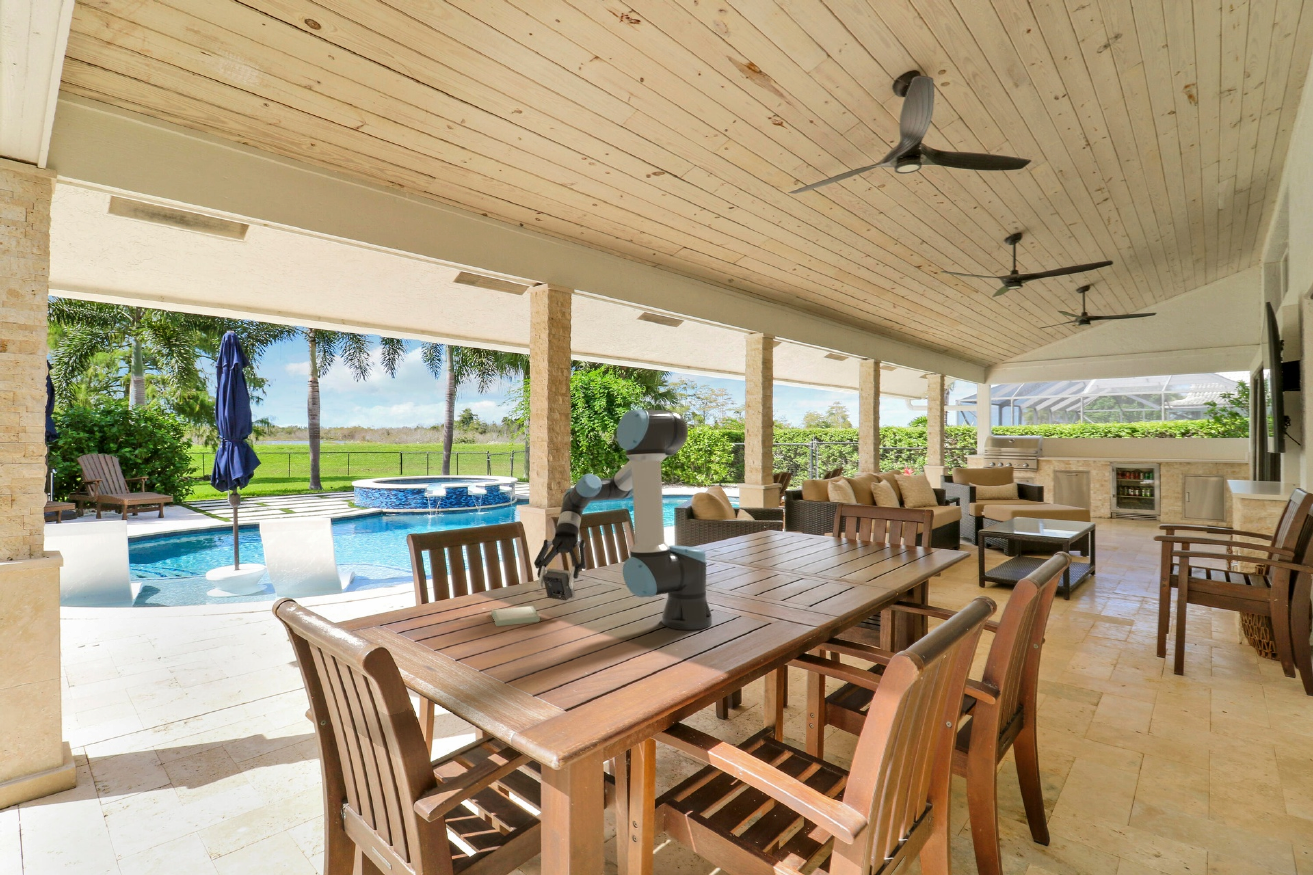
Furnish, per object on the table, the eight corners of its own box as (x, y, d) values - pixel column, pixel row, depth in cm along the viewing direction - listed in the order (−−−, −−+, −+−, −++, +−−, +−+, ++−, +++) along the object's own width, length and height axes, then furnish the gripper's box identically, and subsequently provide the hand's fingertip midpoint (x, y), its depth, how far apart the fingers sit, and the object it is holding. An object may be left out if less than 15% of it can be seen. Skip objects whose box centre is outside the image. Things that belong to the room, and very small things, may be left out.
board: (539, 621, 190) (539, 616, 190) (496, 626, 185) (496, 620, 185) (532, 610, 202) (532, 605, 202) (491, 614, 197) (491, 609, 197)
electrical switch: (576, 598, 196) (573, 569, 195) (565, 603, 191) (563, 574, 191) (553, 595, 201) (551, 566, 200) (542, 600, 196) (540, 571, 196)
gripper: (601, 535, 210) (591, 593, 194) (538, 534, 213) (524, 592, 197) (598, 521, 205) (587, 580, 189) (533, 521, 207) (518, 579, 191)
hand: (555, 586), depth 193 cm, fingers closed on electrical switch, 9 cm apart
